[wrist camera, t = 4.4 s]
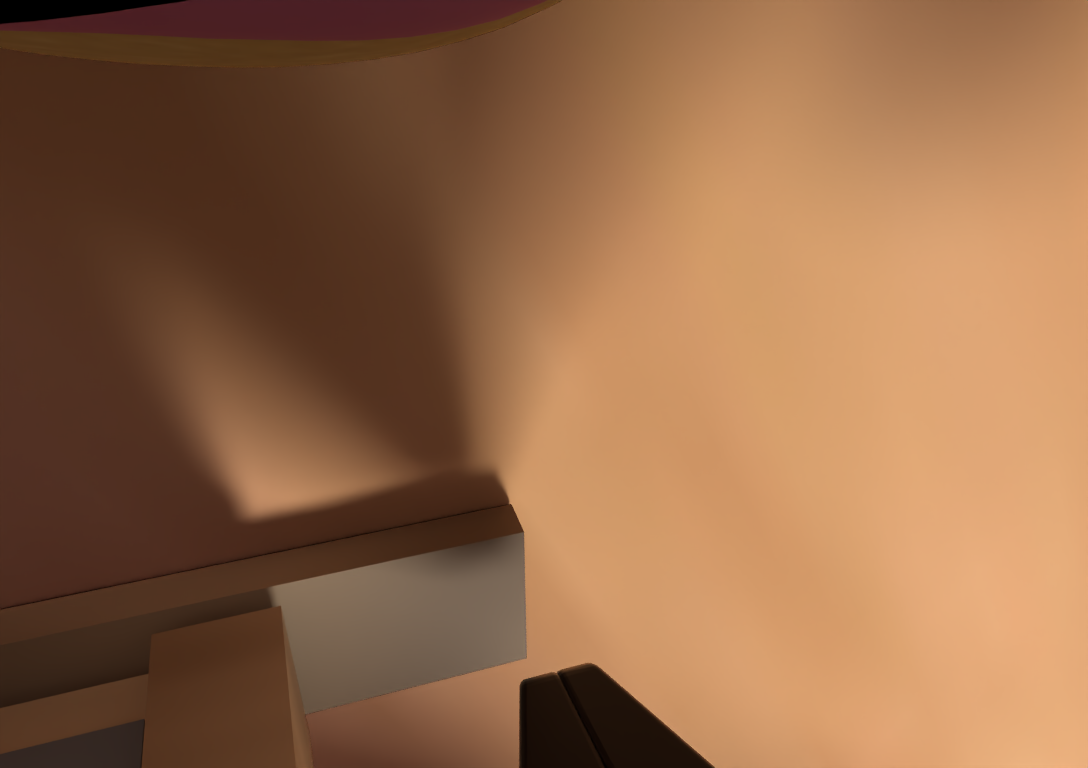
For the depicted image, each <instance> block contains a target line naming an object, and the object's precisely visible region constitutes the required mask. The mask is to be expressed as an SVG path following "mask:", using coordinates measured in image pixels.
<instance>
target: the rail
mask: <svg viewBox="0 0 1088 768" xmlns="http://www.w3.org/2000/svg"><path fill="white" fill-rule="evenodd" d="M277 606H281V608H282V613H283V617H284V621H285V626H286V630H287V635H288V639H289V644H290V648H291V653H292V657H293V662H294V666H295V671H296V675H297V680H298V684H299V689H300V693H301V698H302V702H303V706H304V711H305V715H306V714H310V713H313V712H317V711H321V710H325V709H329V708H333V707H337V706H341V705H345V704H349V703H353V702H357V701H361V700H365V699H368V698H372V697H376V696H380V695H384V694H388V693H392V692H396V691H400V690H404V689H408V688H412V687H416V686H419V685H423V684H427V683H431V682H435V681H439V680H443V679H447V678H451V677H455V676H459V675H463V674H467V673H471V672H474V671H478V670H482V669H486V668H490V667H494V666H498V665H502V664H506V663H510V662H514V661H518V660H522V659H526V658H527V649H526V603H525V557H524V531H523V529H522V527H521V524H520V522H519V520H518V518H517V516H516V513H515V511H514V509H513V507H512V505H511V504H510V505H505V506H500V507H495V508H490V509H486V510H481V511H476V512H471V513H466V514H461V515H457V516H452V517H447V518H442V519H437V520H432V521H428V522H423V523H418V524H413V525H408V526H403V527H399V528H394V529H389V530H384V531H379V532H374V533H370V534H365V535H360V536H355V537H350V538H345V539H341V540H336V541H331V542H326V543H321V544H316V545H312V546H307V547H302V548H297V549H292V550H287V551H283V552H278V553H273V554H268V555H263V556H258V557H254V558H249V559H244V560H239V561H234V562H229V563H225V564H220V565H215V566H210V567H205V568H200V569H196V570H191V571H186V572H181V573H176V574H171V575H167V576H162V577H157V578H152V579H147V580H142V581H138V582H133V583H128V584H123V585H118V586H113V587H109V588H104V589H99V590H94V591H89V592H84V593H80V594H75V595H70V596H65V597H60V598H55V599H51V600H46V601H41V602H36V603H31V604H26V605H22V606H17V607H12V608H7V609H2V610H0V708H3V707H7V706H12V705H16V704H20V703H25V702H29V701H33V700H37V699H42V698H46V697H50V696H55V695H59V694H63V693H68V692H72V691H76V690H80V689H85V688H89V687H93V686H98V685H102V684H106V683H111V682H115V681H119V680H123V679H128V678H132V677H136V676H141V675H145V674H149V661H150V648H151V635H152V634H156V633H160V632H165V631H169V630H174V629H178V628H183V627H187V626H192V625H196V624H201V623H205V622H210V621H214V620H219V619H223V618H228V617H232V616H237V615H241V614H246V613H250V612H255V611H259V610H264V609H268V608H273V607H277Z"/></svg>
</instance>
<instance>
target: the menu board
mask: <svg viewBox="0 0 1088 768" xmlns="http://www.w3.org/2000/svg"><path fill="white" fill-rule="evenodd" d="M0 768H314V767H313V758H312V749H311V740H310V733H309V729H308V724H307V720H306V715H305V711H304V706H303V702H302V698H301V693H300V689H299V684H298V680H297V675H296V671H295V666H294V662H293V657H292V653H291V648H290V644H289V639H288V635H287V630H286V626H285V621H284V617H283V613H282V608H281V606H277V607H273V608H268V609H264V610H259V611H255V612H250V613H246V614H241V615H237V616H232V617H228V618H223V619H219V620H214V621H210V622H205V623H201V624H196V625H192V626H187V627H183V628H178V629H174V630H169V631H165V632H160V633H156V634H152V635H151V648H150V661H149V674H145V675H141V676H136V677H132V678H128V679H123V680H119V681H115V682H111V683H106V684H102V685H98V686H93V687H89V688H85V689H80V690H76V691H72V692H68V693H63V694H59V695H55V696H50V697H46V698H42V699H37V700H33V701H29V702H25V703H20V704H16V705H12V706H7V707H3V708H0Z"/></svg>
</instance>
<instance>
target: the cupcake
mask: <svg viewBox="0 0 1088 768" xmlns="http://www.w3.org/2000/svg"><path fill="white" fill-rule="evenodd" d="M560 1H562V0H0V48H5V49H11V50H17V51H24V52H30V53H36V54H45V55H54V56H62V57H71V58H79V59H88V60H99V61H111V62H122V63H134V64H150V65H172V66H197V67H232V68H248V67H294V66H310V65H326V64H336V63H346V62H355V61H364V60H373V59H380V58H386V57H392V56H397V55H403V54H409V53H415V52H420V51H424V50H428V49H432V48H436V47H440V46H444V45H448V44H452V43H456V42H460V41H463V40H466V39H470V38H473V37H476V36H479V35H482V34H485V33H488V32H491V31H494V30H497V29H501V28H503V27H506V26H508V25H510V24H512V23H515V22H517V21H519V20H521V19H524V18H526V17H528V16H530V15H533V14H535V13H537V12H539V11H542V10H544V9H546V8H548V7H550V6H552V5H554V4H556V3H558V2H560Z"/></svg>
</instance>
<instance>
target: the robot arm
mask: <svg viewBox="0 0 1088 768" xmlns="http://www.w3.org/2000/svg"><path fill="white" fill-rule="evenodd" d="M519 768H715V767H714V766H712V765H711V764H710V763H709V762H708V761H707V760H706V759H704V758H703V757H702V756H701V755H700V754H699V753H697V752H696V751H695V750H694V749H693V748H692V747H691V746H689V745H688V744H687V743H686V742H685V741H684V740H682V739H681V738H680V737H679V736H678V735H677V734H676V733H674V732H673V731H672V730H671V729H670V728H669V727H667V726H666V725H665V724H664V723H663V722H662V721H661V720H659V719H658V718H657V717H656V716H655V715H654V714H652V713H651V712H650V711H649V710H648V709H647V708H646V707H644V706H643V705H642V704H641V703H640V702H639V701H637V700H636V699H635V698H634V697H633V696H632V695H631V694H629V693H628V692H627V691H626V690H625V689H624V688H623V687H621V686H620V685H619V684H618V683H617V682H616V681H614V680H613V679H612V678H611V677H610V676H609V675H608V674H606V673H605V672H604V671H603V670H602V669H601V668H599V667H598V666H597V665H595V664H591V663H585V664H581V665H577V666H574V667H570V668H566V669H562V670H560V671H558V672H557V673H547V674H543V675H539V676H536V677H532V678H528V679H525V680H523V681H522V682H521V684H520V691H519Z"/></svg>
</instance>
